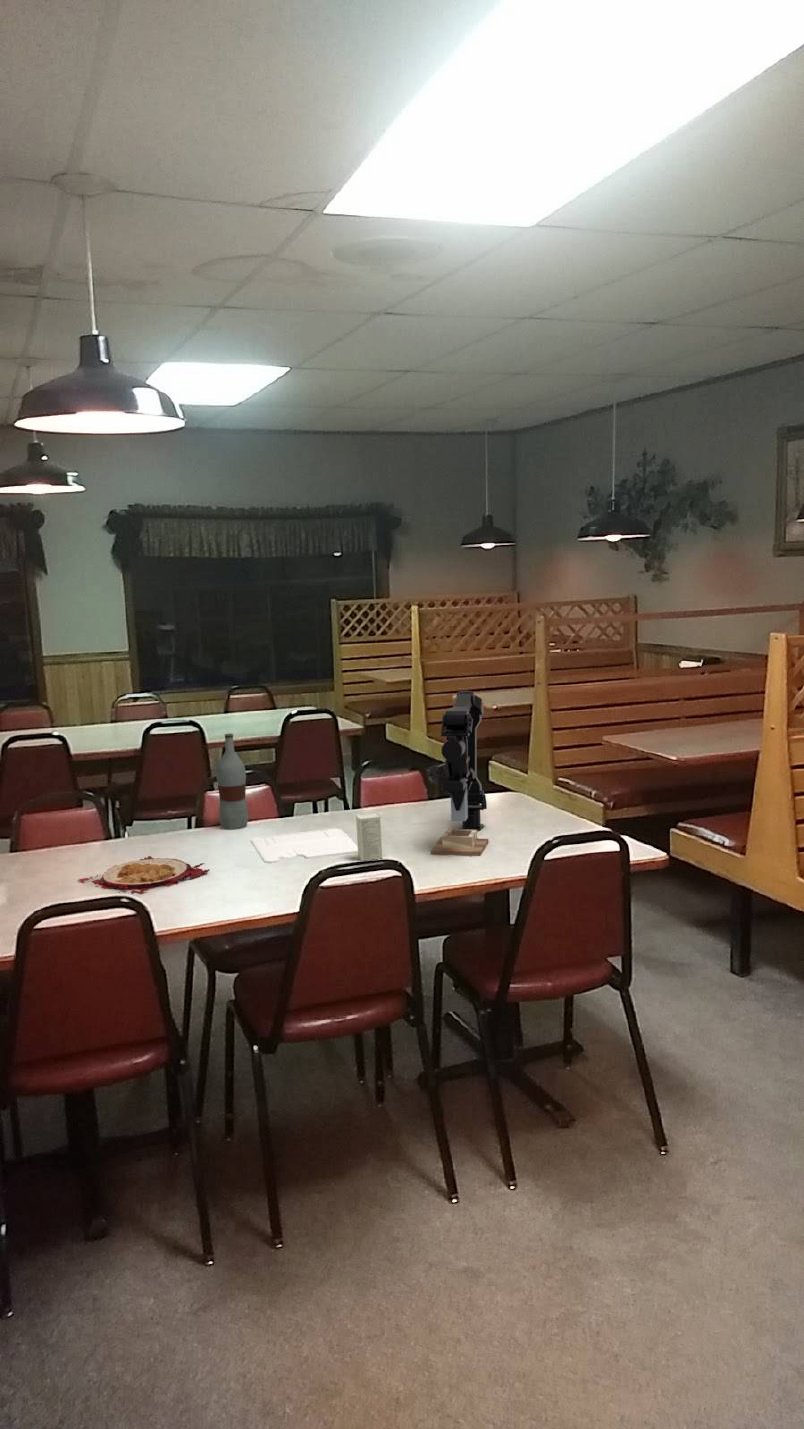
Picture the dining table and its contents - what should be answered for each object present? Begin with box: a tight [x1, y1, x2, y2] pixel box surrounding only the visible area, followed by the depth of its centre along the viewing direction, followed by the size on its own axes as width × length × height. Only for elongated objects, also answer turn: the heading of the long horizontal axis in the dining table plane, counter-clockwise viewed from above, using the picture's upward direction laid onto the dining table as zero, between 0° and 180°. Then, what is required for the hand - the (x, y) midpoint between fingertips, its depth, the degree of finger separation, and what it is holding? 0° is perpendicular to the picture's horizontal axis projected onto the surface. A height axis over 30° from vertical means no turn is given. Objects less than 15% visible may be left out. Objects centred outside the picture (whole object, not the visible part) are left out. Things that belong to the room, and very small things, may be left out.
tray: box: [250, 828, 358, 864], centre depth 283 cm, size 28×28×2 cm
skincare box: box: [355, 812, 383, 862], centre depth 267 cm, size 6×4×12 cm
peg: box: [450, 783, 468, 822], centre depth 272 cm, size 4×4×10 cm
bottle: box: [216, 733, 249, 831], centre depth 307 cm, size 9×9×30 cm
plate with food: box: [78, 855, 210, 895], centre depth 257 cm, size 24×26×4 cm
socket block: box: [430, 828, 490, 857], centre depth 274 cm, size 14×14×4 cm
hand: (459, 808), depth 273 cm, fingers closed on peg, 4 cm apart
